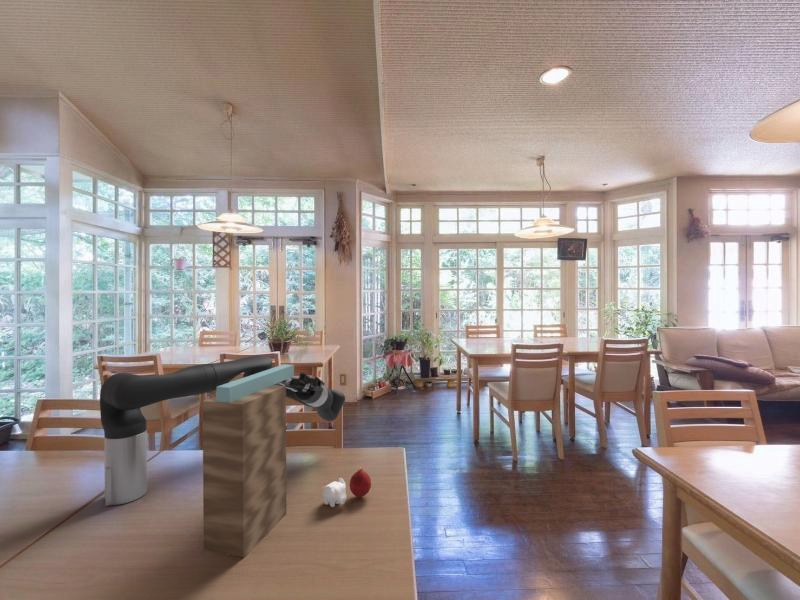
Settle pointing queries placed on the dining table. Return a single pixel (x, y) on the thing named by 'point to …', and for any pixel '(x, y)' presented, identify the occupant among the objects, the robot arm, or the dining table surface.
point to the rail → (253, 383)
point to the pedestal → (243, 469)
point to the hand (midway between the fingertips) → (286, 375)
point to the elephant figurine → (334, 493)
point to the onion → (360, 483)
